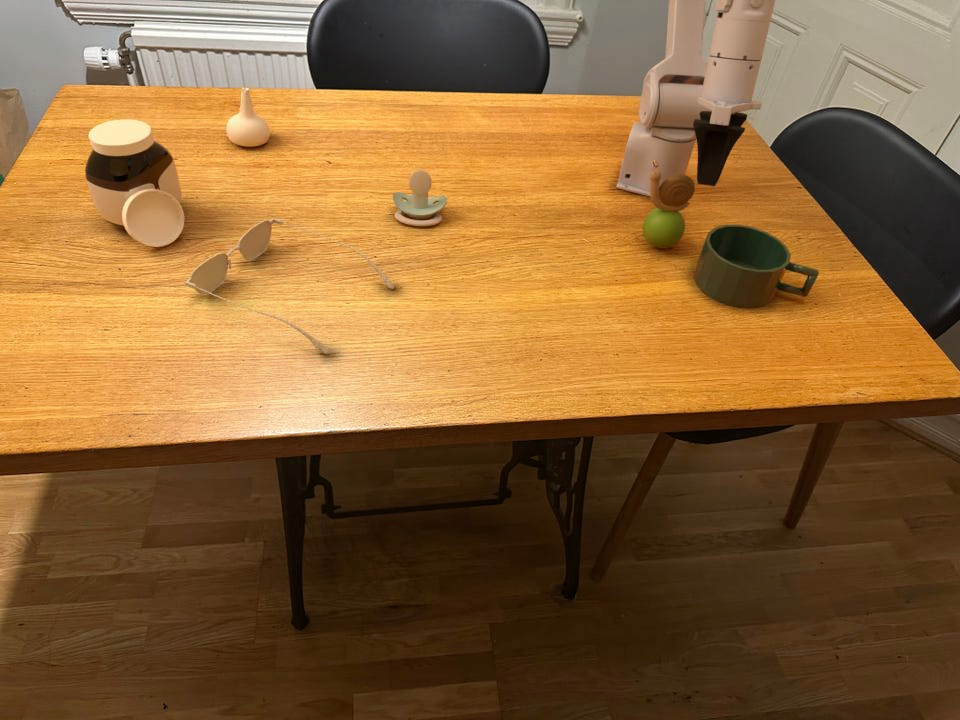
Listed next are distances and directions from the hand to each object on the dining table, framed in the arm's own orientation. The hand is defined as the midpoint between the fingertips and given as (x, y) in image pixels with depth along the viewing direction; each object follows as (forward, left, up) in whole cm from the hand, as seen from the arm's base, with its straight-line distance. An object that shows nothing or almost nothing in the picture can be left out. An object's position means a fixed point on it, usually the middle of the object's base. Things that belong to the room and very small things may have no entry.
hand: (708, 177), depth 86 cm
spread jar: (-64, -27, -11) cm, 70 cm away
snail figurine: (-4, 0, -11) cm, 12 cm away
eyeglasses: (-40, -31, -11) cm, 52 cm away
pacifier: (-35, -9, -11) cm, 38 cm away
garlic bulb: (-67, -2, -11) cm, 68 cm away
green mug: (+9, -4, -11) cm, 15 cm away
